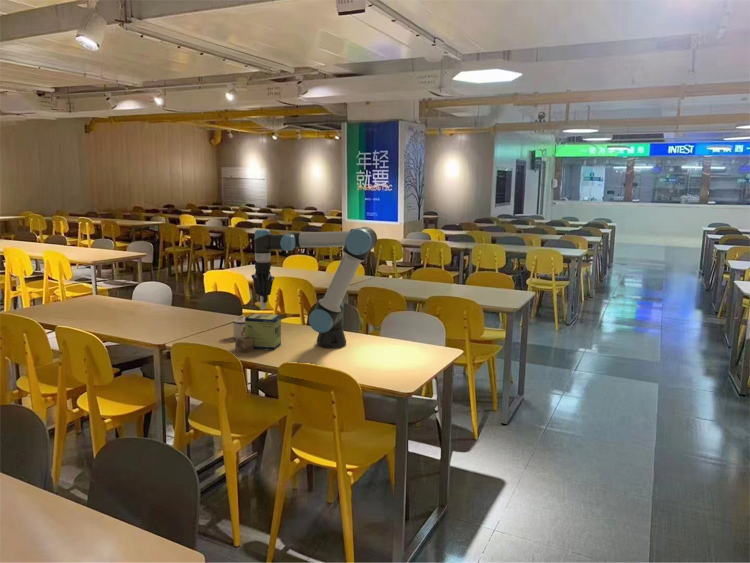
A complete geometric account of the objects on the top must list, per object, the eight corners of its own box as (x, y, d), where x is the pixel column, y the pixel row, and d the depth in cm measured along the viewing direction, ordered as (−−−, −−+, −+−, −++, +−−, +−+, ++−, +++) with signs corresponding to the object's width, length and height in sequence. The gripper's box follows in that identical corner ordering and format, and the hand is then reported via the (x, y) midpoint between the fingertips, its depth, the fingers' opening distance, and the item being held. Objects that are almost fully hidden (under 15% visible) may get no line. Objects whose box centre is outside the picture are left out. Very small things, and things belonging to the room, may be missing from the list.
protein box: (275, 350, 278) (274, 319, 275) (244, 348, 280) (244, 317, 277) (281, 344, 288) (281, 314, 285) (252, 342, 290) (252, 313, 288)
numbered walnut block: (253, 350, 277) (253, 337, 276) (244, 353, 272) (244, 340, 271) (244, 348, 280) (243, 335, 279) (235, 351, 275) (235, 338, 274)
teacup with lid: (243, 340, 294) (242, 318, 293) (229, 337, 299) (229, 316, 297) (258, 335, 305) (258, 314, 303) (245, 332, 309) (244, 312, 307)
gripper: (247, 261, 277) (248, 308, 281) (268, 263, 271) (268, 311, 274) (257, 259, 283) (258, 306, 287) (278, 261, 277) (278, 309, 281)
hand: (263, 308), depth 281 cm, fingers closed
